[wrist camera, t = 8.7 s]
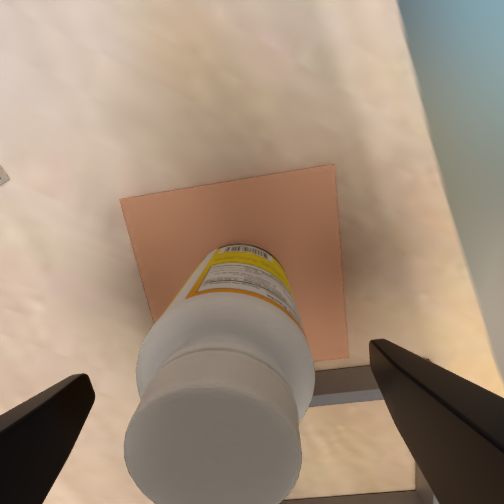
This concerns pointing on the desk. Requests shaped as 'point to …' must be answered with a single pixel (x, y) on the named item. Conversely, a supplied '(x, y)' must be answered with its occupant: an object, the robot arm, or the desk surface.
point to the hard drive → (3, 176)
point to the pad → (250, 242)
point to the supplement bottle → (223, 387)
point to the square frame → (349, 391)
